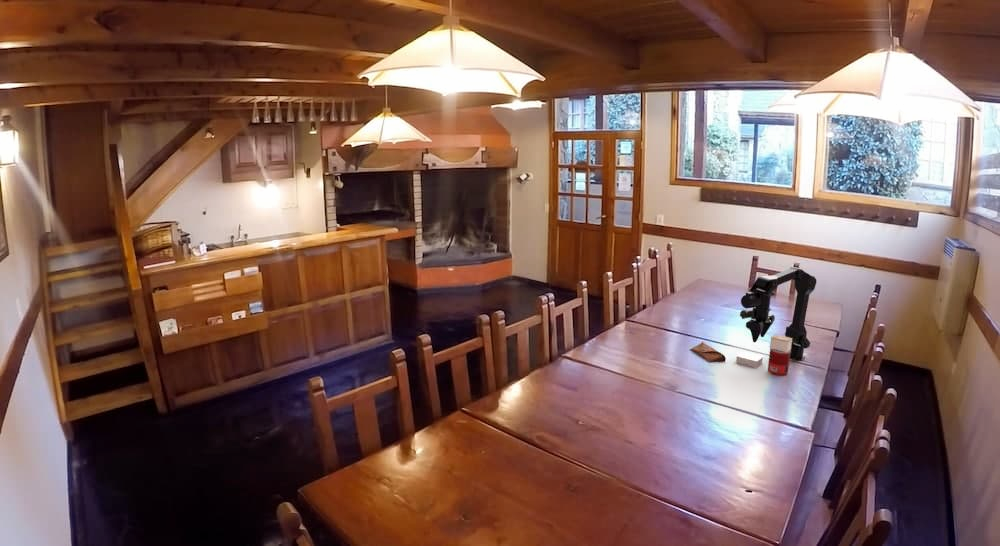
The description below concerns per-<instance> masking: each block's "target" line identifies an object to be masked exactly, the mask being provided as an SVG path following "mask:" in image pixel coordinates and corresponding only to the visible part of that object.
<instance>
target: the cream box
mask: <svg viewBox="0 0 1000 546" xmlns="http://www.w3.org/2000/svg"><path fill="white" fill-rule="evenodd" d="M769 342H770V345H769V349H770V348H771V349H775V350H779V351H783V352H788V351H789V350H791V344H792V338H789V337H785V336H784V335H779V334H774V335H772V336H771V337H770V341H769Z"/></svg>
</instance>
